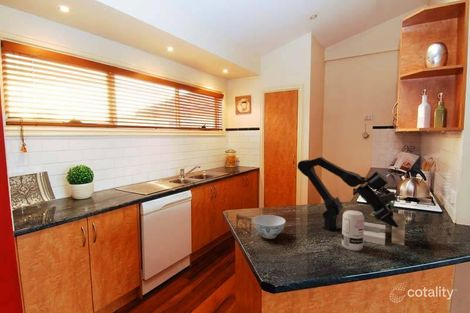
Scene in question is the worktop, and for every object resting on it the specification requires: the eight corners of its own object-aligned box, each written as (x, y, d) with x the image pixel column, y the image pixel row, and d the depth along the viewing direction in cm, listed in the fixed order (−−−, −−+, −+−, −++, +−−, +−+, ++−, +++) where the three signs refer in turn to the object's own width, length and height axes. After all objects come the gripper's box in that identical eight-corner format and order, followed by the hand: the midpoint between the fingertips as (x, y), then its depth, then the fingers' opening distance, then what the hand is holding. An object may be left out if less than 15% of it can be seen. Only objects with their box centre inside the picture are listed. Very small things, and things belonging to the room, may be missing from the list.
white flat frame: (354, 239, 114) (354, 232, 114) (358, 226, 130) (358, 220, 129) (384, 245, 108) (385, 237, 108) (385, 231, 123) (385, 224, 123)
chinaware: (260, 244, 109) (260, 227, 109) (249, 231, 124) (249, 216, 123) (291, 240, 113) (291, 223, 112) (276, 228, 128) (277, 213, 127)
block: (391, 243, 110) (393, 215, 109) (391, 239, 114) (393, 212, 113) (404, 245, 108) (405, 217, 107) (403, 241, 112) (405, 214, 111)
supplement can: (344, 241, 112) (346, 208, 111) (364, 246, 107) (366, 212, 106) (339, 247, 106) (340, 213, 105) (360, 253, 101) (361, 217, 99)
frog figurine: (377, 213, 152) (381, 190, 149) (407, 226, 136) (412, 200, 133) (366, 215, 148) (370, 191, 146) (395, 228, 132) (400, 202, 129)
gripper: (384, 189, 104) (415, 219, 99) (385, 182, 120) (411, 207, 115) (362, 205, 109) (391, 234, 104) (365, 196, 125) (391, 221, 120)
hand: (397, 223), depth 111 cm, fingers open, 9 cm apart
